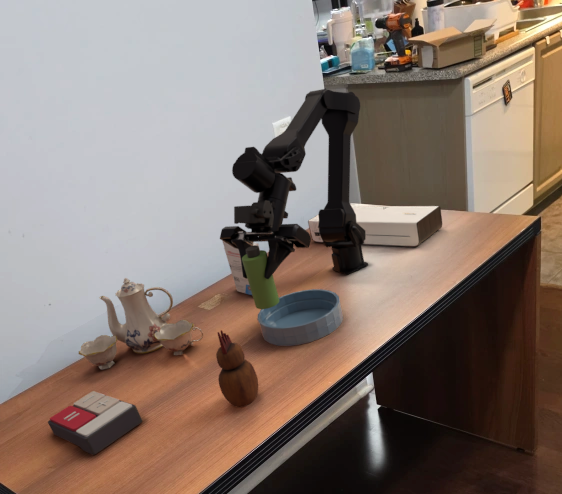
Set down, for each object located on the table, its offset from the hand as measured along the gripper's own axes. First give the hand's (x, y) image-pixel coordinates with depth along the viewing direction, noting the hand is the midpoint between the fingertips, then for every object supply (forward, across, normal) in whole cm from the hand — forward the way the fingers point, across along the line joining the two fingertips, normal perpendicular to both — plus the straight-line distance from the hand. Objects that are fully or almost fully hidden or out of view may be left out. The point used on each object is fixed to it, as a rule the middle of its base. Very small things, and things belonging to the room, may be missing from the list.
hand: (255, 278), depth 128 cm
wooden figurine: (+25, +8, -6) cm, 27 cm away
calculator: (+35, -16, -16) cm, 42 cm away
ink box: (-5, -20, +25) cm, 32 cm away
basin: (+6, +4, +13) cm, 15 cm away
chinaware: (+16, -28, +3) cm, 32 cm away
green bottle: (+4, 0, +5) cm, 6 cm away
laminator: (-28, -3, +47) cm, 55 cm away
